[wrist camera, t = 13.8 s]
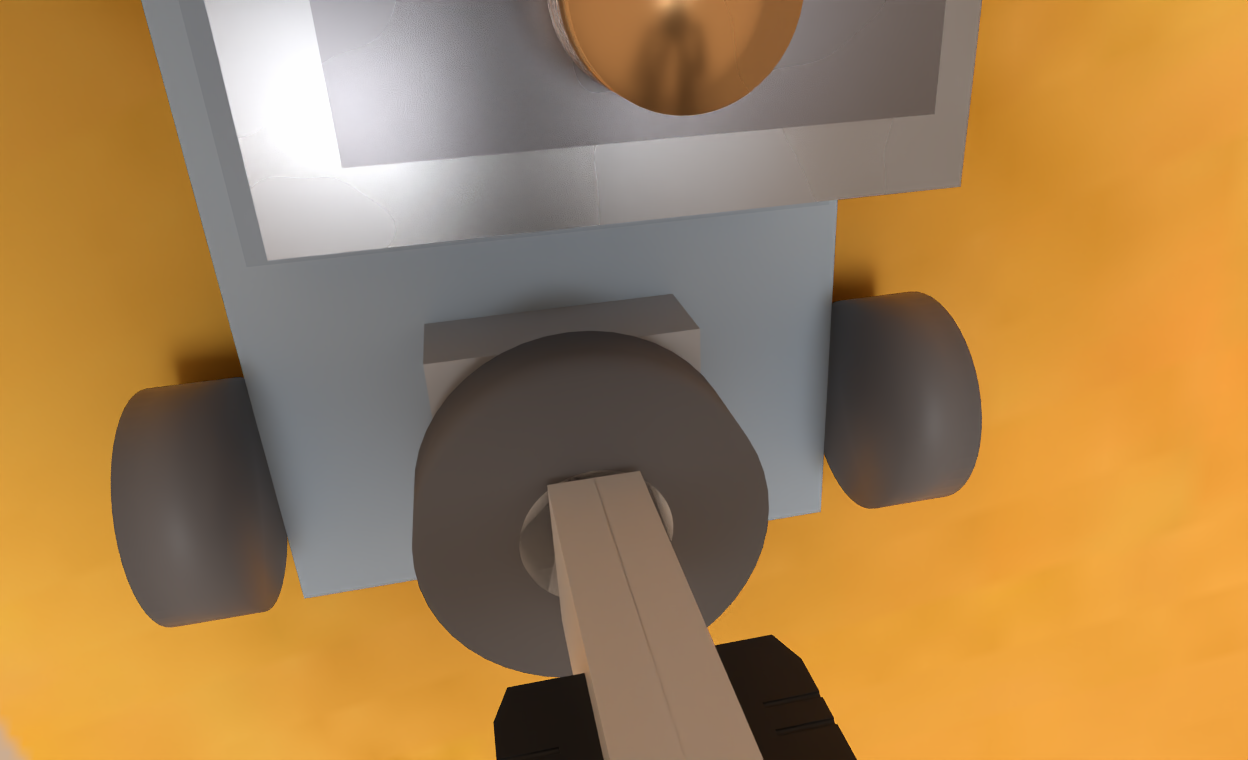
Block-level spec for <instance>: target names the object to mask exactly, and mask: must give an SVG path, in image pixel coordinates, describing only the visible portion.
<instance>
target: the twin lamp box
mask: <svg viewBox="0 0 1248 760" xmlns="http://www.w3.org/2000/svg"><path fill="white" fill-rule="evenodd" d="M204 2H205V6H206V10H207V14H208V18H209V22H210V26H211V30H212V35H213V39H214V43H215V47H216V51H217V55H218V59H219V63H220V67H221V71H222V76H223V80H224V84H225V88H226V92H227V96H228V100H229V104H230V108H231V112H232V117H233V121H234V125H235V129H236V133H237V137H238V141H239V145H240V149H241V153H242V158H243V162H244V166H245V170H246V174H247V178H248V182H249V186H250V190H251V194H252V199H253V203H254V207H255V211H256V215H257V219H258V223H259V227H260V231H261V235H262V240H263V244H264V248H265V252H266V256H267V260H268V261H269V260H278V259H287V258H297V257H306V256H316V255H325V254H334V253H344V252H353V251H362V250H372V249H381V248H390V247H400V246H409V245H418V244H428V243H437V242H446V241H456V240H465V239H475V238H484V237H493V236H503V235H512V234H521V233H531V232H540V231H549V230H559V229H568V228H577V227H587V226H596V225H605V224H615V223H624V222H634V221H643V220H652V219H662V218H671V217H680V216H690V215H699V214H708V213H718V212H727V211H736V210H746V209H755V208H764V207H774V206H783V205H793V204H802V203H811V202H821V201H830V200H839V199H849V198H858V197H867V196H877V195H886V194H895V193H905V192H914V191H923V190H933V189H942V188H952V187H960V186H961V177H962V168H963V160H964V151H965V143H966V134H967V125H968V117H969V108H970V100H971V91H972V82H973V74H974V65H975V57H976V48H977V39H978V31H979V22H980V14H981V5H982V0H204Z"/></svg>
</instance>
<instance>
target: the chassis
mask: <svg viewBox="0 0 1248 760" xmlns="http://www.w3.org/2000/svg"><path fill="white" fill-rule="evenodd" d="M141 2H142V6H143V9H144V13H145V17H146V20H147V24H148V28H149V31H150V35H151V39H152V42H153V46H154V50H155V53H156V57H157V61H158V64H159V68H160V72H161V75H162V79H163V83H164V86H165V90H166V93H167V97H168V101H169V104H170V108H171V112H172V115H173V119H174V123H175V126H176V130H177V134H178V137H179V141H180V145H181V148H182V152H183V156H184V159H185V163H186V167H187V170H188V174H189V178H190V181H191V185H192V189H193V192H194V196H195V200H196V203H197V207H198V211H199V214H200V218H201V222H202V225H203V229H204V233H205V236H206V240H207V244H208V247H209V251H210V255H211V258H212V262H213V266H214V269H215V273H216V277H217V280H218V284H219V288H220V291H221V295H222V299H223V302H224V306H225V310H226V313H227V317H228V321H229V324H230V328H231V332H232V335H233V339H234V343H235V346H236V350H237V354H238V357H239V361H240V365H241V368H242V372H243V376H244V378H242V377H234V378H226V379H218V380H210V381H203V382H195V383H187V384H179V385H171V386H163V387H155V388H147V389H144V390H140V391H139V392H137V393H136V394H135V395H134V396H133V397H132V398H131V399H130V400H129V402H128V403H127V405H126V407H125V408H124V411H123V413H122V415H121V418H120V420H119V424H118V427H117V430H116V435H115V440H114V445H113V454H112V464H111V502H112V514H113V522H114V529H115V535H116V540H117V545H118V550H119V554H120V557H121V561H122V565H123V568H124V571H125V574H126V577H127V580H128V582H129V584H130V587H131V589H132V591H133V593H134V595H135V597H136V599H137V601H138V603H139V604H140V606H141V607H142V609H143V610H144V611H145V613H146V614H147V615H148V616H149V617H150V618H151V619H152V620H153V621H154V622H156V623H157V624H159V625H161V626H164V627H177V626H183V625H189V624H195V623H201V622H206V621H212V620H218V619H224V618H230V617H236V616H242V615H248V614H254V613H260V612H265V611H268V610H270V609H271V608H272V607H273V606H274V604H275V603H276V601H277V599H278V597H279V594H280V591H281V588H282V584H283V579H284V574H285V567H286V557H287V537H288V540H289V544H290V548H291V551H292V555H293V559H294V562H295V566H296V570H297V573H298V577H299V581H300V584H301V588H302V592H303V595H304V598H310V597H316V596H322V595H328V594H334V593H340V592H346V591H352V590H358V589H364V588H370V587H376V586H382V585H388V584H394V583H400V582H406V581H412V580H417V577H416V573H415V570H414V563H413V555H412V530H413V504H414V480H415V467H416V462H417V458H418V453H419V449H420V446H421V443H422V441H423V438H424V435H425V433H426V430H427V428H428V427H429V425H430V423H431V421H432V419H433V417H434V415H435V414H436V412H437V411H438V409H439V408H440V407H441V405H442V404H443V402H444V401H445V400H446V398H447V397H448V396H449V395H450V394H451V392H452V391H453V390H454V389H455V388H456V387H457V386H458V385H459V384H460V383H461V382H462V381H463V380H464V379H465V378H466V377H468V376H469V375H470V374H471V373H473V372H474V371H475V370H476V369H478V368H479V367H480V366H481V365H483V364H485V363H486V362H488V361H489V360H491V359H493V358H494V357H496V356H498V355H499V354H501V353H503V352H505V351H507V350H509V349H512V348H514V347H516V346H518V345H520V344H523V343H526V342H529V341H532V340H535V339H538V338H541V337H545V336H550V335H555V334H560V333H566V332H577V331H604V332H615V333H620V334H626V335H631V336H635V337H638V338H641V339H644V340H647V341H650V342H654V343H656V344H658V345H660V346H662V347H664V348H666V349H668V350H670V351H672V352H674V353H675V354H677V355H678V356H680V357H681V358H683V359H684V360H686V361H687V362H688V363H690V364H691V365H692V366H693V367H694V368H695V369H696V370H697V371H698V372H700V373H701V374H702V375H703V376H704V377H705V379H706V380H707V381H708V382H709V384H710V385H711V386H712V387H713V389H714V390H715V391H716V393H717V394H718V395H719V397H720V398H721V400H722V401H723V403H724V404H725V405H726V407H727V408H728V410H729V411H730V413H731V414H732V416H733V417H734V418H735V420H736V421H737V423H738V424H739V426H740V427H741V428H742V430H743V431H744V433H745V434H746V436H747V437H748V439H749V440H750V442H751V444H752V446H753V447H754V449H755V451H756V453H757V454H758V457H759V460H760V462H761V465H762V468H763V470H764V474H765V478H766V483H767V488H768V499H769V515H768V520H774V519H780V518H786V517H792V516H798V515H804V514H810V513H816V512H821V494H822V476H823V458H824V454H825V457H826V459H827V462H828V464H829V466H830V469H831V471H832V473H833V475H834V476H835V478H836V480H837V481H838V483H839V485H840V486H841V488H842V489H843V490H844V492H845V493H846V494H847V495H848V496H849V497H850V498H851V499H852V500H853V501H854V502H855V503H857V504H858V505H860V506H862V507H865V508H868V509H871V508H880V507H886V506H892V505H898V504H904V503H910V502H915V501H921V500H927V499H933V498H939V497H945V496H949V495H952V494H954V493H955V492H957V491H958V490H960V489H961V487H962V486H963V485H964V484H965V483H966V482H967V480H968V479H969V477H970V475H971V473H972V471H973V469H974V466H975V463H976V460H977V457H978V452H979V447H980V440H981V430H982V412H981V399H980V392H979V385H978V380H977V376H976V371H975V367H974V364H973V361H972V357H971V354H970V352H969V349H968V347H967V344H966V342H965V340H964V337H963V335H962V333H961V331H960V329H959V328H958V326H957V324H956V323H955V321H954V320H953V318H952V317H951V316H950V314H949V313H948V312H947V310H946V309H945V308H944V307H943V306H942V305H941V304H940V303H939V302H937V301H936V300H935V299H933V298H932V297H930V296H928V295H926V294H924V293H920V292H904V293H896V294H889V295H881V296H873V297H865V298H857V299H849V300H841V301H837V302H834V303H832V293H833V275H834V257H835V238H836V220H837V202H838V200H830V201H821V202H811V203H802V204H793V205H783V206H774V207H764V208H755V209H746V210H736V211H727V212H718V213H708V214H699V215H690V216H680V217H671V218H662V219H652V220H643V221H634V222H624V223H615V224H605V225H596V226H587V227H577V228H568V229H559V230H549V231H540V232H531V233H521V234H512V235H503V236H493V237H484V238H475V239H465V240H456V241H446V242H437V243H428V244H418V245H409V246H400V247H390V248H381V249H372V250H362V251H353V252H344V253H334V254H325V255H316V256H306V257H297V258H287V259H278V260H269V261H268V260H267V256H266V252H265V248H264V244H263V240H262V235H261V231H260V227H259V223H258V219H257V215H256V211H255V207H254V203H253V199H252V194H251V190H250V186H249V182H248V178H247V174H246V170H245V166H244V162H243V158H242V153H241V149H240V145H239V141H238V137H237V133H236V129H235V125H234V121H233V117H232V112H231V108H230V104H229V100H228V96H227V92H226V88H225V84H224V80H223V76H222V71H221V67H220V63H219V59H218V55H217V51H216V47H215V43H214V39H213V35H212V30H211V26H210V22H209V18H208V14H207V10H206V6H205V2H204V0H141Z"/></svg>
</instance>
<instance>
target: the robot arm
mask: <svg viewBox="0 0 1248 760" xmlns="http://www.w3.org/2000/svg"><path fill="white" fill-rule="evenodd" d="M547 489H548V498H549V507H550V516H551V525H552V534H553V543H554V553H555V562H556V571H557V580H558V589H559V598H560V607H561V617H562V623H563V628H564V633H565V638H566V643H567V648H568V653H569V658H570V662H571V667H572V672H573V675H571V676H565V677H560V678H555V679H550V680H544V681H539V682H534V683H529V684H524V685H518V686H513V687H508V688H507V690H506V692H505V695H504V697H503V700H502V702H501V705H500V707H499V710H498V712H497V715H496V717H495V720H494V734H495V746H496V758H497V760H857V759H856V757H855V755H854V754H853V752H852V750H851V748H850V746H849V745H848V743H847V741H846V739H845V737H844V735H843V734H842V732H841V730H840V728H839V726H838V724H835V722H834V717H833V715H832V714H831V712H830V710H829V708H828V706H827V704H826V703H825V701H824V699H823V697H820V694H819V690H818V688H817V686H816V684H815V683H814V681H813V679H812V677H811V675H810V673H809V672H808V670H807V668H806V666H805V664H804V663H803V661H802V659H801V658H800V657H798V656H797V655H796V654H795V653H794V652H792V651H791V650H790V649H789V648H787V647H786V646H785V645H784V644H783V643H781V642H780V641H779V640H778V639H777V638H775V637H774V636H773V635H767V636H762V637H757V638H752V639H746V640H741V641H736V642H731V643H725V644H720V645H714V643H713V641H712V638H711V636H710V634H709V631H708V629H707V627H706V624H705V622H704V619H703V617H702V615H701V612H700V610H699V608H698V605H697V603H696V601H695V598H694V596H693V594H692V591H691V589H690V587H689V584H688V582H687V580H686V577H685V575H684V573H683V570H682V568H681V566H680V563H679V561H678V559H677V556H676V554H675V552H674V549H673V547H672V545H671V542H670V540H669V538H668V535H667V533H666V531H665V528H664V526H663V524H662V521H661V519H660V517H659V514H658V512H657V510H656V507H655V505H654V503H653V500H652V498H651V496H650V493H649V491H648V489H647V486H646V484H645V482H644V479H643V477H642V475H641V472H640V471H635V472H628V473H622V474H615V475H609V476H602V477H596V478H589V479H583V480H577V481H570V482H564V483H557V484H551V485H547Z"/></svg>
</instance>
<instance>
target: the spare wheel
mask: <svg viewBox="0 0 1248 760" xmlns="http://www.w3.org/2000/svg"><path fill="white" fill-rule="evenodd" d="M635 471H640V472H641V475H642V477H643V479H644V482H645V484H646V486H647V489H648V491H649V493H650V496H651V498H652V500H653V503H654V505H655V507H656V510H657V512H658V514H659V517H660V519H661V521H662V524H663V526H664V528H665V531H666V533H667V535H668V538H669V540H670V542H671V545H672V547H673V549H674V552H675V554H676V556H677V559H678V561H679V563H680V566H681V568H682V570H683V573H684V575H685V577H686V580H687V582H688V584H689V587H690V589H691V591H692V594H693V596H694V598H695V601H696V603H697V605H698V608H699V610H700V612H701V615H702V617H703V619H704V622H705V624H706V627H708V626H709V625H710V624H711V623H713V622H714V621H715V620H716V619H717V618H718V617H719V616H720V615H721V614H722V613H723V612H724V611H725V610H726V609H727V608H728V606H729V605H730V604H731V603H732V602H733V601H734V600H735V598H736V597H737V595H738V594H739V593H740V591H741V590H742V588H743V587H744V585H745V584H746V582H747V581H748V579H749V577H750V575H751V573H752V571H753V570H754V568H755V566H756V563H757V561H758V558H759V556H760V553H761V550H762V548H763V544H764V540H765V536H766V532H767V526H768V515H769V499H768V488H767V483H766V478H765V474H764V470H763V468H762V465H761V462H760V460H759V457H758V454H757V453H756V451H755V449H754V447H753V446H752V444H751V442H750V440H749V439H748V437H747V436H746V434H745V433H744V431H743V430H742V428H741V427H740V426H739V424H738V423H737V421H736V420H735V418H734V417H733V416H732V414H731V413H730V411H729V410H728V408H727V407H726V405H725V404H724V403H723V401H722V400H721V398H720V397H719V395H718V394H717V393H716V391H715V390H714V389H713V387H712V386H711V385H710V384H709V382H708V381H707V380H706V379H705V377H704V376H703V375H702V374H701V373H700V372H698V371H697V370H696V369H695V368H694V367H693V366H692V365H691V364H690V363H688V362H687V361H686V360H684V359H683V358H681V357H680V356H678V355H677V354H675V353H674V352H672V351H670V350H668V349H666V348H664V347H662V346H660V345H658V344H656V343H654V342H650V341H647V340H644V339H641V338H638V337H635V336H631V335H626V334H620V333H615V332H604V331H577V332H566V333H560V334H555V335H550V336H545V337H541V338H538V339H535V340H532V341H529V342H526V343H523V344H520V345H518V346H516V347H514V348H512V349H509V350H507V351H505V352H503V353H501V354H499V355H498V356H496V357H494V358H493V359H491V360H489V361H488V362H486V363H485V364H483V365H481V366H480V367H479V368H478V369H476V370H475V371H474V372H473V373H471V374H470V375H469V376H468V377H466V378H465V379H464V380H463V381H462V382H461V383H460V384H459V385H458V386H457V387H456V388H455V389H454V390H453V391H452V392H451V394H450V395H449V396H448V397H447V398H446V400H445V401H444V402H443V404H442V405H441V407H440V408H439V409H438V411H437V412H436V414H435V415H434V417H433V419H432V421H431V423H430V425H429V427H428V428H427V430H426V433H425V435H424V438H423V441H422V443H421V446H420V449H419V453H418V458H417V462H416V467H415V480H414V504H413V530H412V555H413V563H414V570H415V573H416V577H417V580H418V584H419V588H420V590H421V592H422V594H423V596H424V598H425V600H426V602H427V605H428V606H429V608H430V609H431V611H432V612H433V614H434V615H435V617H436V618H437V619H438V621H439V622H440V623H441V624H442V625H443V626H444V628H445V629H446V630H447V631H448V632H449V633H450V634H451V635H452V636H453V637H454V638H456V639H457V640H458V641H459V642H461V643H462V644H463V645H464V646H466V647H467V648H468V649H470V650H471V651H473V652H475V653H477V654H478V655H480V656H482V657H483V658H485V659H487V660H489V661H492V662H494V663H496V664H499V665H501V666H503V667H506V668H510V669H513V670H516V671H520V672H523V673H528V674H534V675H540V676H547V677H565V676H571V675H573V672H572V667H571V662H570V658H569V653H568V648H567V643H566V638H565V633H564V628H563V623H562V617H561V607H560V598H559V589H558V580H557V571H556V562H555V553H554V543H553V534H552V525H551V516H550V507H549V498H548V489H547V485H551V484H557V483H564V482H570V481H577V480H583V479H589V478H596V477H602V476H609V475H615V474H622V473H628V472H635Z"/></svg>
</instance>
